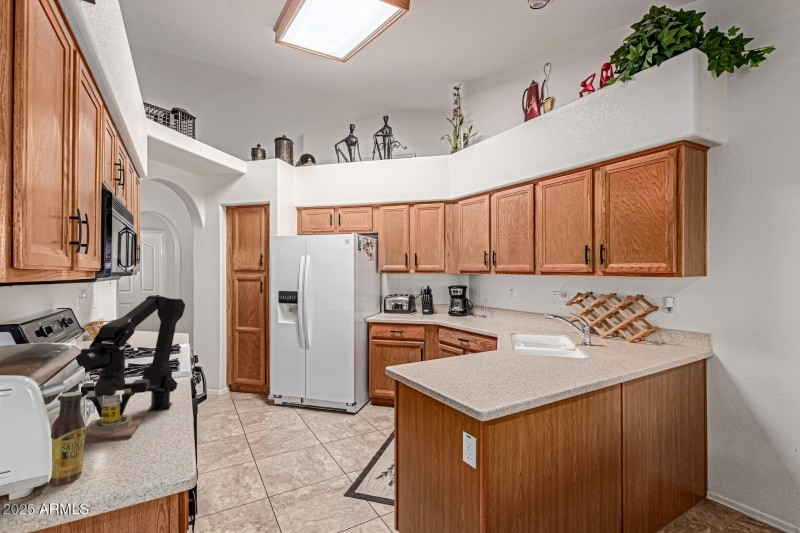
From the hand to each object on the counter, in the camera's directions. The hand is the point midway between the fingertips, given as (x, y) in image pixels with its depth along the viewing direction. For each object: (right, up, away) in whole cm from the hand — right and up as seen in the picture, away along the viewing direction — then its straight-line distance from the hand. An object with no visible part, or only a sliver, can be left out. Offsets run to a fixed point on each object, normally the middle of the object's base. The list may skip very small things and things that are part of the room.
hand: (111, 416), depth 116 cm
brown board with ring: (0, -4, 0) cm, 4 cm away
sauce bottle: (+10, -4, -27) cm, 29 cm away
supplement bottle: (0, -2, 0) cm, 2 cm away
